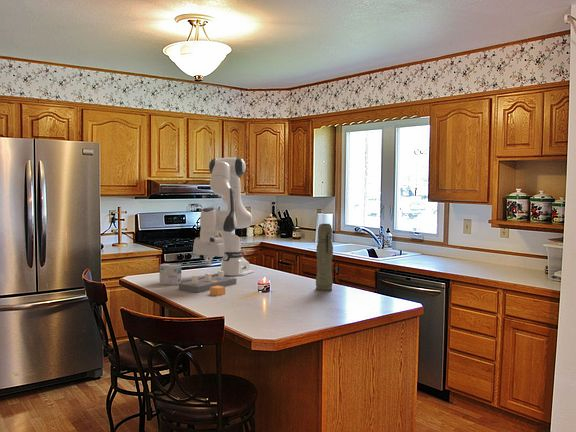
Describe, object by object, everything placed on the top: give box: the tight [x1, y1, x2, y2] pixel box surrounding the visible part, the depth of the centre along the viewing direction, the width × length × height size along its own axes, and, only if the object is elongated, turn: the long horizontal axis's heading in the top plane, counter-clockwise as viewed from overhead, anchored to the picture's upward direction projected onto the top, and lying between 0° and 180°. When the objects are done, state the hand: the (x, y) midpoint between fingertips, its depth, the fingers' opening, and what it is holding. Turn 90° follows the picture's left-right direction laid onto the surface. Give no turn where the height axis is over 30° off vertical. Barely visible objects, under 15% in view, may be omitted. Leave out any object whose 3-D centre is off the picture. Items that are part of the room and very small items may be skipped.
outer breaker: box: [191, 275, 199, 284], centre depth 275 cm, size 2×2×4 cm
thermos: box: [315, 223, 334, 292], centre depth 279 cm, size 9×12×35 cm
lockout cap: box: [209, 286, 226, 297], centre depth 265 cm, size 5×5×4 cm
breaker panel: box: [178, 275, 237, 293], centre depth 283 cm, size 30×14×3 cm, turn 145°
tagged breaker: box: [204, 272, 213, 282], centre depth 283 cm, size 2×2×4 cm
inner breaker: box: [217, 270, 225, 279], centre depth 291 cm, size 2×2×4 cm
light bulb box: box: [159, 263, 182, 286], centre depth 290 cm, size 11×7×11 cm, turn 84°
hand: (208, 263), depth 282 cm, fingers closed
